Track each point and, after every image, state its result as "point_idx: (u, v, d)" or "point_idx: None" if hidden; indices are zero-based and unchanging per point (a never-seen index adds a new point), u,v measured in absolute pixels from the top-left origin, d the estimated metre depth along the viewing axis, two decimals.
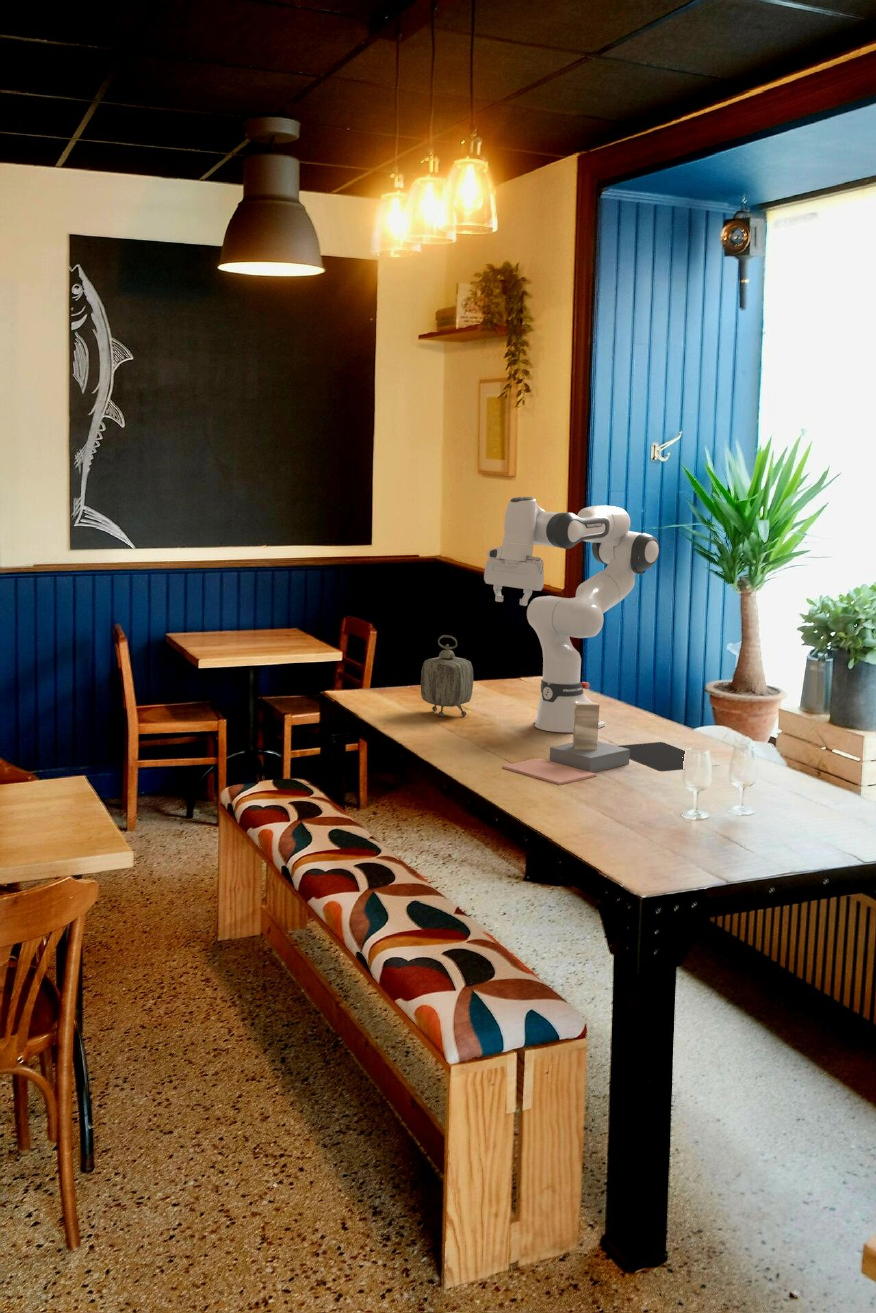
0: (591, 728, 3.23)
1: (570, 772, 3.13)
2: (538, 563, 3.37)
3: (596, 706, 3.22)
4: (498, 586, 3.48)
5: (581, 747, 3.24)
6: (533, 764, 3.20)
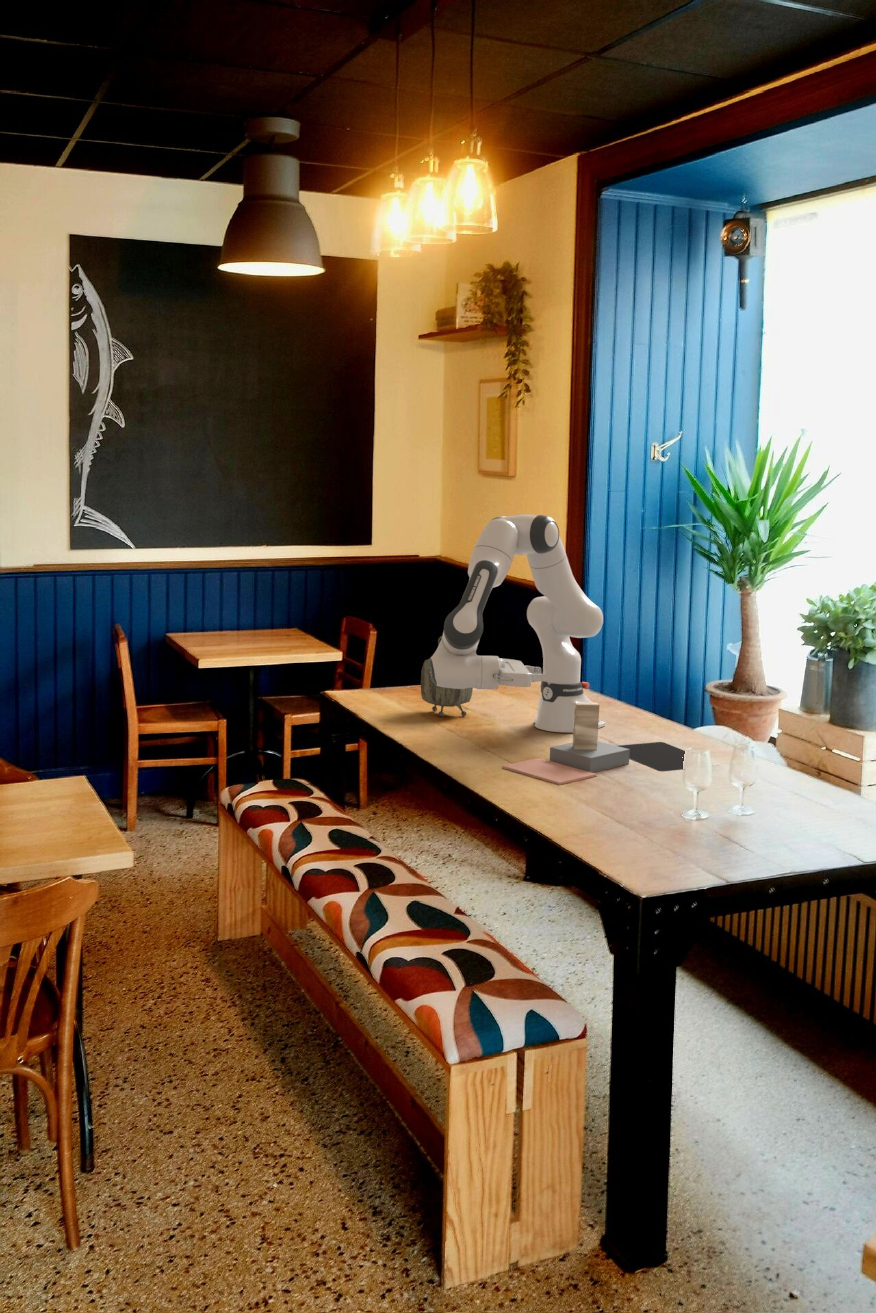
0: (591, 728, 3.23)
1: (570, 772, 3.13)
2: None
3: (596, 706, 3.22)
4: None
5: (581, 747, 3.24)
6: (533, 764, 3.20)
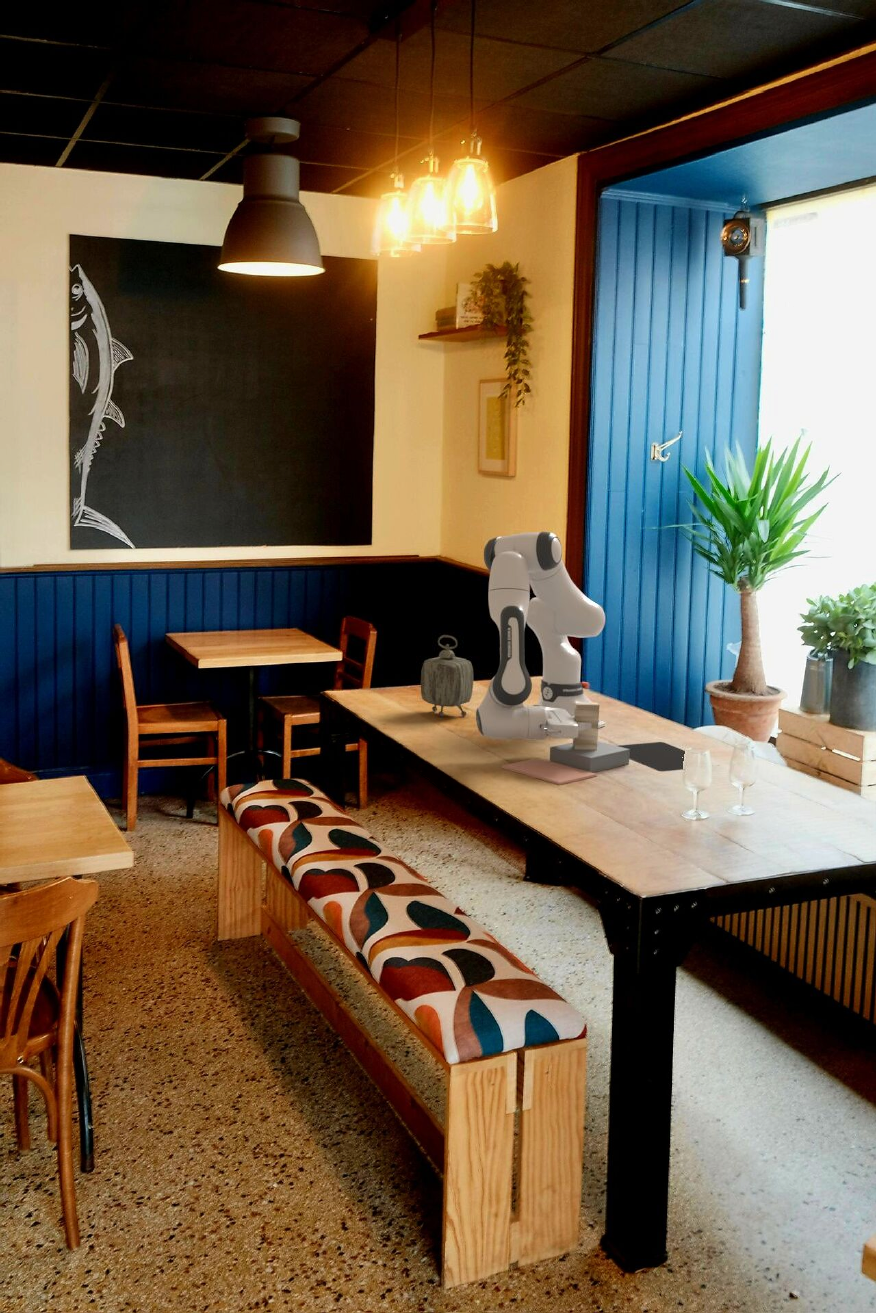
0: (591, 728, 3.23)
1: (570, 772, 3.13)
2: None
3: (596, 706, 3.22)
4: None
5: (581, 747, 3.24)
6: (533, 764, 3.20)
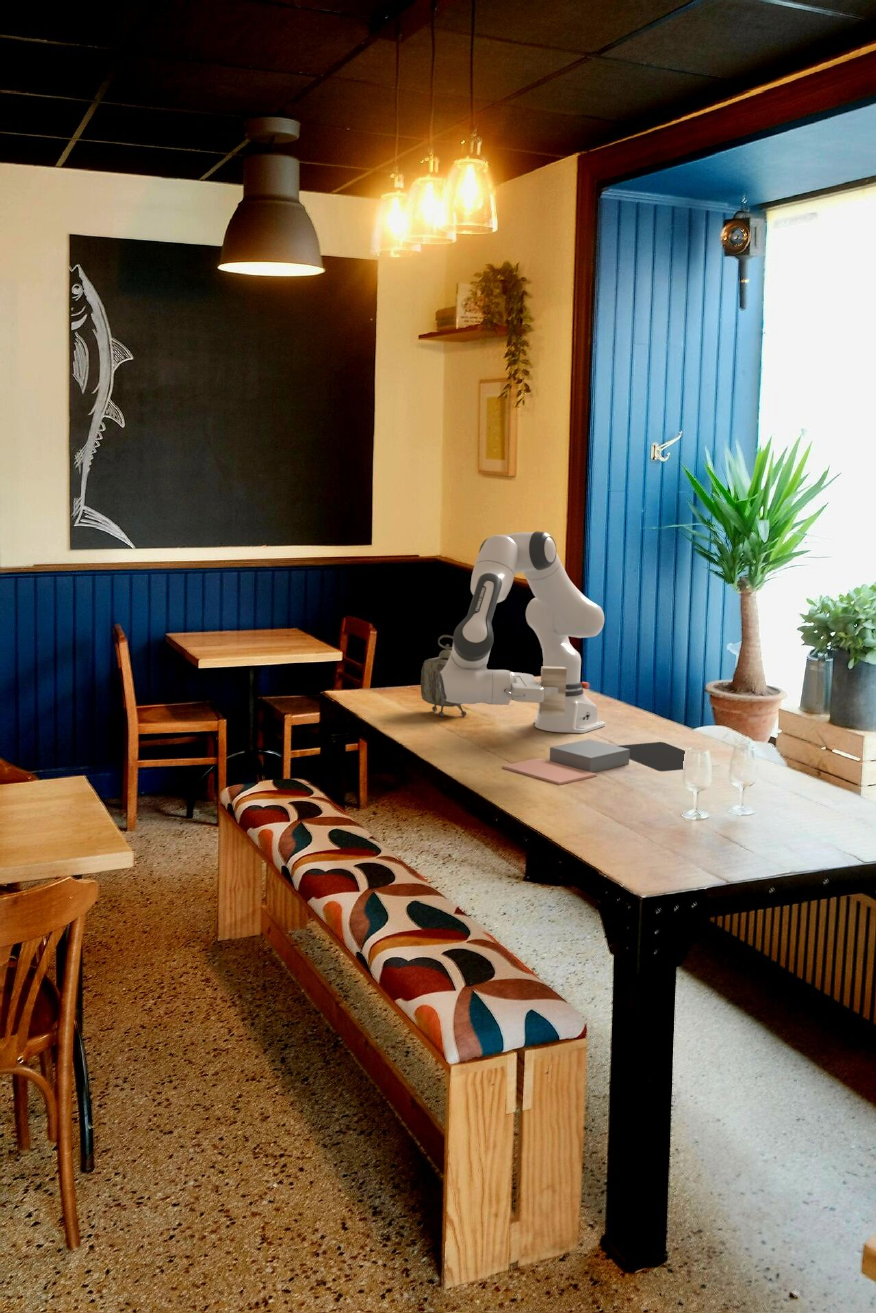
0: (558, 693, 3.11)
1: (570, 772, 3.13)
2: None
3: (563, 670, 3.10)
4: None
5: (548, 713, 3.11)
6: (533, 764, 3.20)
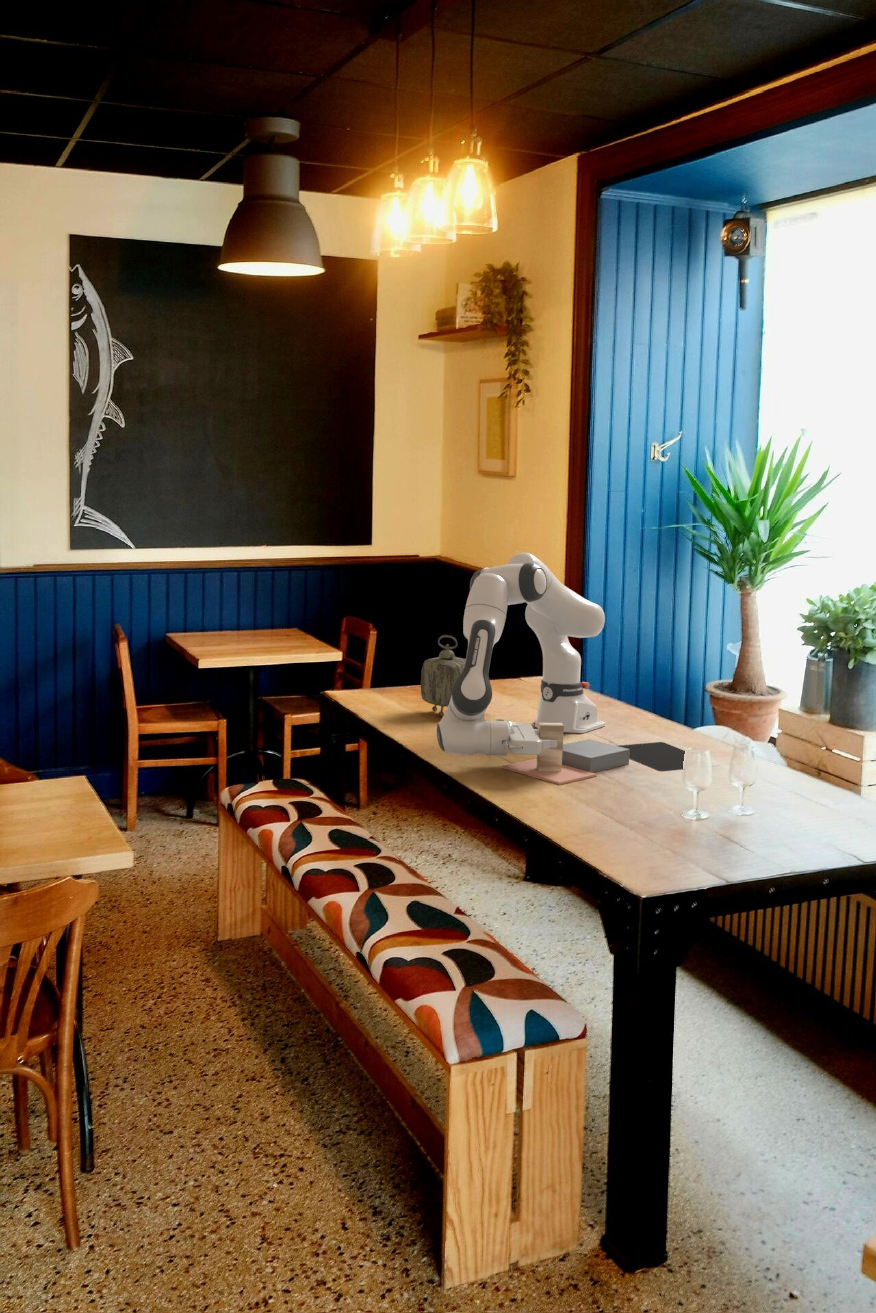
0: (555, 749, 3.13)
1: (570, 772, 3.13)
2: None
3: (560, 727, 3.12)
4: None
5: (545, 769, 3.14)
6: (533, 764, 3.20)
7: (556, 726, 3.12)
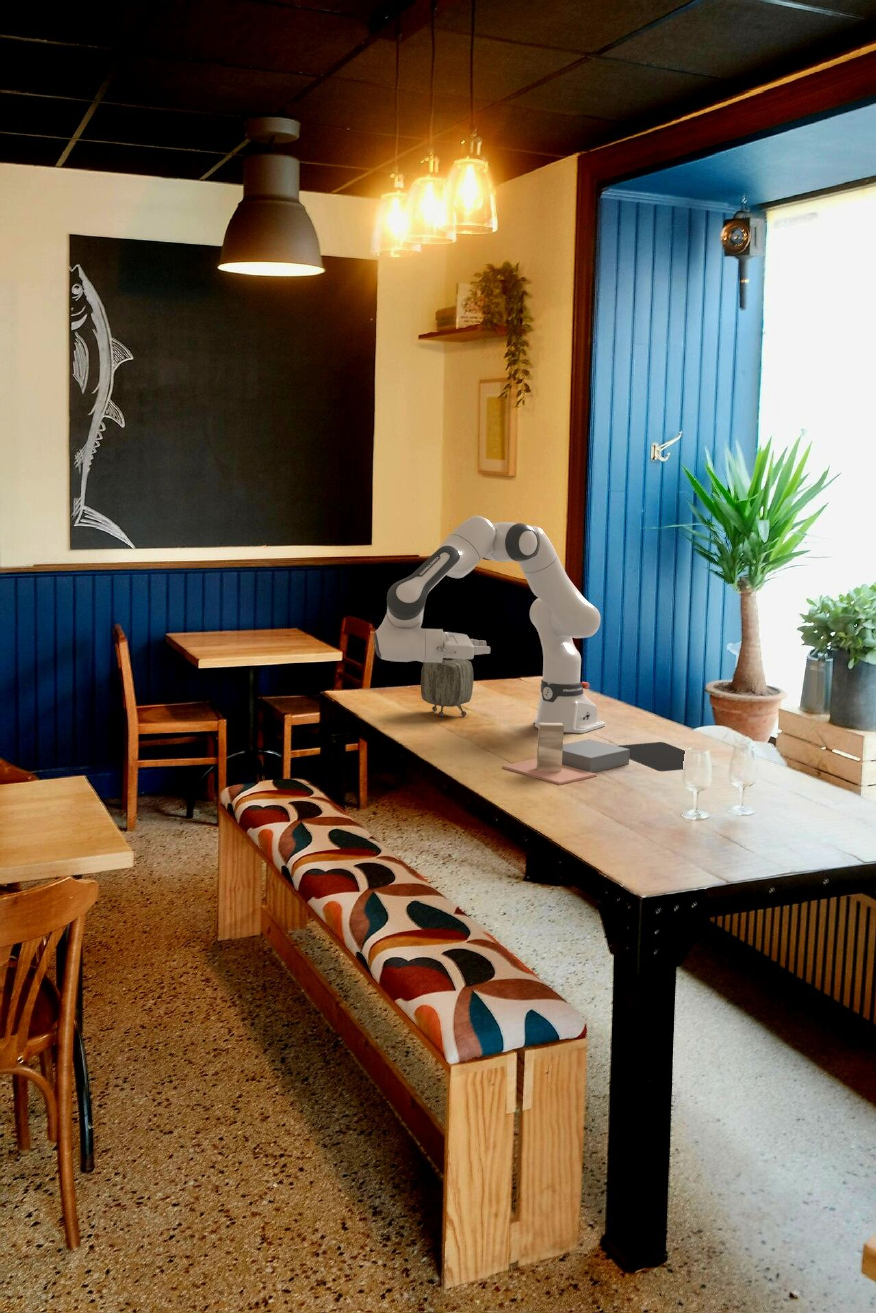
0: (555, 749, 3.13)
1: (570, 772, 3.13)
2: None
3: (560, 727, 3.12)
4: None
5: (545, 769, 3.14)
6: (533, 764, 3.20)
7: (556, 726, 3.12)
